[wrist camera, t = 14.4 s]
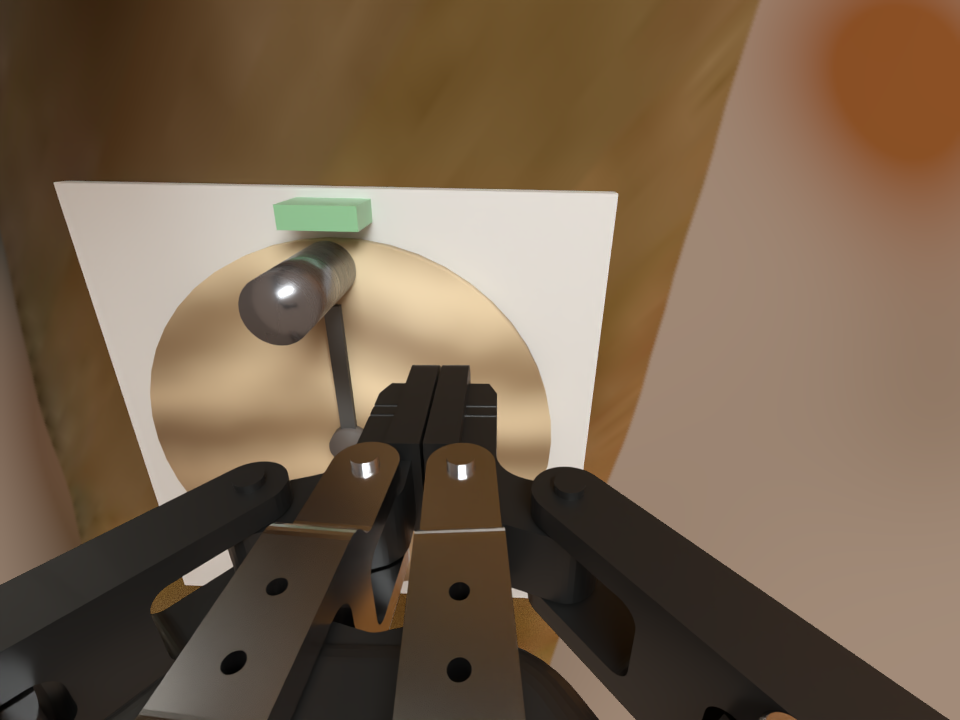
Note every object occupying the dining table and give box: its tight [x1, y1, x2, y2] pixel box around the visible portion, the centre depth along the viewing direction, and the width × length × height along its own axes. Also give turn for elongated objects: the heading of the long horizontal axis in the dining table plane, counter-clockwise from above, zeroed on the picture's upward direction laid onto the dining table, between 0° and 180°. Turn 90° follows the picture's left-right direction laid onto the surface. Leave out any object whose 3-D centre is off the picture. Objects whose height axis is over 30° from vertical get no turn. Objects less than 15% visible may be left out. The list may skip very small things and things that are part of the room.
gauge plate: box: [53, 181, 618, 598], centre depth 31 cm, size 30×30×4 cm
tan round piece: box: [150, 237, 551, 581], centre depth 28 cm, size 25×25×8 cm
